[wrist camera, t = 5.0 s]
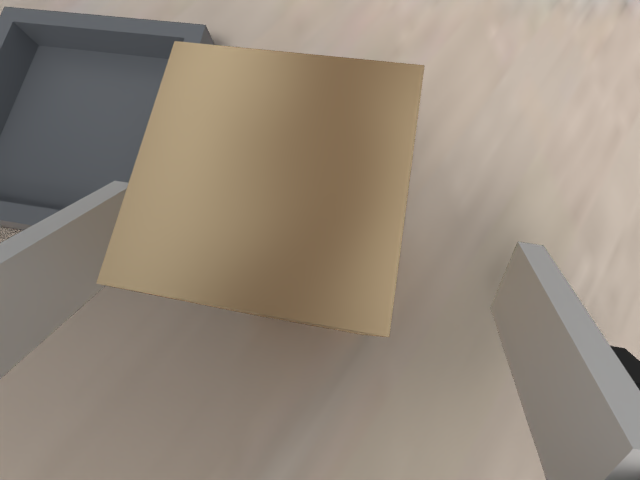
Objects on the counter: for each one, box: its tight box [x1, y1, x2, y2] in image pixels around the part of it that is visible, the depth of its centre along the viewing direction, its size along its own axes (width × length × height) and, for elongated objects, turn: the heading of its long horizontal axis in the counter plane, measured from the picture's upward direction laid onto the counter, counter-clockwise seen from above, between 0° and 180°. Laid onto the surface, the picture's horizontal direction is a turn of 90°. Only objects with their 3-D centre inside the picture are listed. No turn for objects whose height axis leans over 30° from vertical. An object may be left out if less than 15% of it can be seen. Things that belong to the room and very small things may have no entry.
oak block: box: [96, 41, 424, 337], centre depth 14 cm, size 6×6×12 cm
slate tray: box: [0, 7, 215, 230], centre depth 21 cm, size 13×13×2 cm
